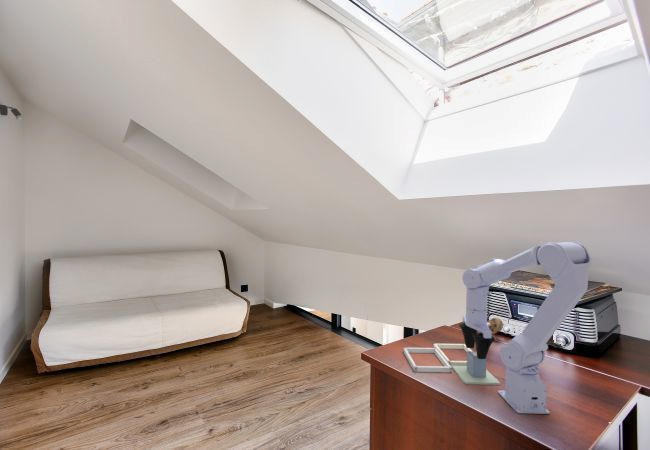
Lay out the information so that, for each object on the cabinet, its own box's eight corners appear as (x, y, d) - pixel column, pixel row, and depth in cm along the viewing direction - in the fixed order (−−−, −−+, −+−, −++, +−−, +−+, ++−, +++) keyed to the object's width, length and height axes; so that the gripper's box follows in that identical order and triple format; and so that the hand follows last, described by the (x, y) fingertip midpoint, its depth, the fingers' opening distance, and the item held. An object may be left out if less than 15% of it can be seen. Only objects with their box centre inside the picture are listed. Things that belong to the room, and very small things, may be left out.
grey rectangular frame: (451, 372, 98) (452, 367, 98) (414, 372, 98) (414, 367, 98) (435, 352, 112) (435, 348, 112) (403, 351, 113) (403, 347, 112)
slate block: (486, 377, 94) (486, 357, 94) (472, 377, 94) (473, 356, 94) (479, 370, 98) (480, 351, 98) (466, 370, 98) (467, 351, 98)
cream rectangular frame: (484, 367, 102) (484, 362, 102) (448, 366, 102) (448, 361, 102) (464, 348, 116) (464, 344, 116) (433, 347, 116) (433, 343, 116)
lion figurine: (505, 341, 123) (506, 318, 123) (498, 344, 120) (499, 321, 120) (469, 330, 135) (469, 309, 135) (462, 332, 132) (462, 311, 132)
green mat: (500, 384, 91) (500, 382, 91) (465, 384, 91) (465, 382, 91) (483, 368, 101) (483, 366, 101) (451, 367, 101) (451, 365, 101)
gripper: (503, 316, 88) (501, 364, 89) (478, 302, 103) (477, 343, 103) (477, 315, 88) (476, 363, 89) (456, 301, 103) (455, 343, 103)
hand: (475, 352), depth 96 cm, fingers open, 7 cm apart
